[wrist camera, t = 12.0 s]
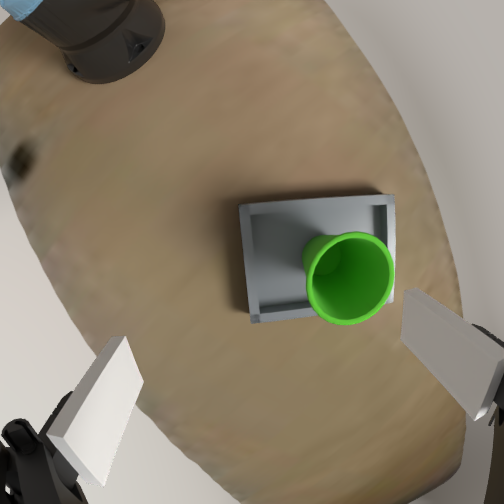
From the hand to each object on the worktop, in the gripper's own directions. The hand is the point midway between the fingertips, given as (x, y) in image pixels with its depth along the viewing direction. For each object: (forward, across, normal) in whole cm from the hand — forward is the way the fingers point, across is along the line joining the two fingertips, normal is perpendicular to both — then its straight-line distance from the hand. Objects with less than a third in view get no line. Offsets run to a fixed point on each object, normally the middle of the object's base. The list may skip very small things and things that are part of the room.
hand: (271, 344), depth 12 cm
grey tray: (+24, +9, -3) cm, 26 cm away
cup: (+24, +9, -3) cm, 25 cm away
